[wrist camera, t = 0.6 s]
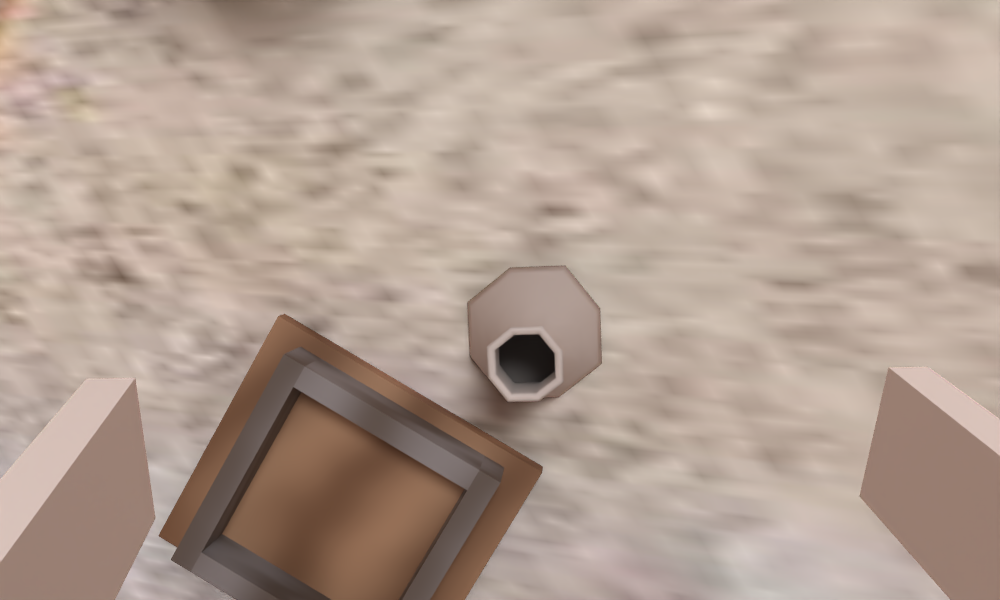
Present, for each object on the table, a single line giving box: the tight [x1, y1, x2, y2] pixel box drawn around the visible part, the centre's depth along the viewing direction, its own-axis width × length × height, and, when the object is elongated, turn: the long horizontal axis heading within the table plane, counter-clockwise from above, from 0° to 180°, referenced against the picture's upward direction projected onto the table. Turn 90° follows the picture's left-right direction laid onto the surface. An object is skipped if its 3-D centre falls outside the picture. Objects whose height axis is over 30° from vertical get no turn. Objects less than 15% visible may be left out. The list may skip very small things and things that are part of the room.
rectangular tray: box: [159, 314, 543, 600], centre depth 42 cm, size 16×14×4 cm
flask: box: [468, 266, 602, 402], centre depth 37 cm, size 7×7×10 cm
